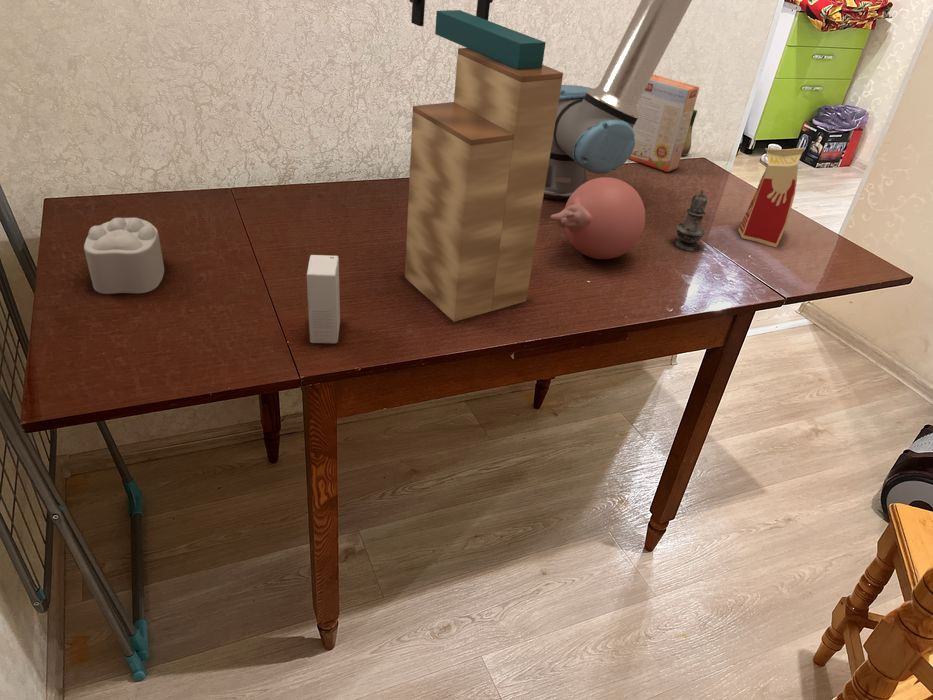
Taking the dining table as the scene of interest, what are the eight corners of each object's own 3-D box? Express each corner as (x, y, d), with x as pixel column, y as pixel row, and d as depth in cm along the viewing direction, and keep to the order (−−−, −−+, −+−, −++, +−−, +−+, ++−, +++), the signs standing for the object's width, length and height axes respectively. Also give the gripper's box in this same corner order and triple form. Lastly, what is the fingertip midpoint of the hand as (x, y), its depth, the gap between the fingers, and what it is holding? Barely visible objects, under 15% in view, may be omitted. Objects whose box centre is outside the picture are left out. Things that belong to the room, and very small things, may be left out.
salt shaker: (701, 253, 145) (719, 198, 138) (672, 248, 145) (688, 193, 138) (699, 241, 149) (716, 187, 142) (671, 236, 150) (687, 182, 143)
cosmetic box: (312, 321, 111) (310, 253, 105) (340, 322, 112) (339, 254, 105) (308, 343, 106) (305, 273, 100) (337, 344, 107) (336, 275, 100)
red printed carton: (782, 232, 157) (816, 144, 146) (778, 248, 150) (813, 156, 139) (740, 222, 160) (770, 134, 148) (734, 237, 153) (765, 146, 141)
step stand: (404, 277, 125) (415, 50, 104) (474, 260, 133) (497, 45, 111) (453, 322, 115) (477, 80, 93) (526, 301, 123) (563, 72, 101)
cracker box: (678, 168, 185) (701, 86, 173) (667, 173, 181) (689, 89, 169) (633, 152, 192) (651, 72, 180) (621, 156, 189) (639, 75, 177)
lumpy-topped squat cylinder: (87, 294, 112) (75, 244, 107) (105, 255, 122) (95, 208, 117) (157, 293, 114) (149, 244, 109) (169, 254, 124) (162, 209, 119)
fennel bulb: (683, 150, 197) (695, 107, 191) (693, 157, 194) (705, 113, 187) (665, 151, 196) (677, 107, 189) (675, 157, 192) (687, 113, 185)
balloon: (523, 244, 141) (534, 169, 132) (607, 233, 148) (623, 162, 139) (561, 281, 129) (576, 203, 121) (650, 268, 137) (671, 193, 128)
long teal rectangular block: (434, 34, 114) (436, 10, 112) (458, 33, 116) (460, 10, 114) (517, 70, 100) (520, 43, 98) (542, 68, 102) (545, 42, 100)
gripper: (406, -127, 103) (399, 30, 115) (537, -113, 116) (518, 26, 128) (381, -131, 108) (377, 20, 120) (509, -118, 121) (494, 17, 133)
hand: (450, 23), depth 124 cm, fingers open, 13 cm apart
